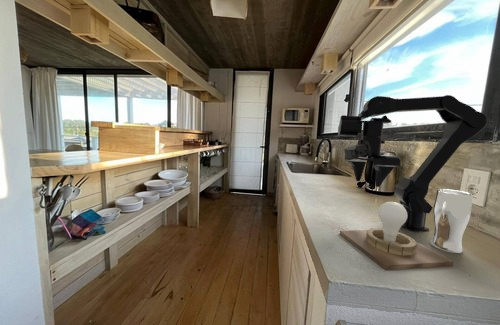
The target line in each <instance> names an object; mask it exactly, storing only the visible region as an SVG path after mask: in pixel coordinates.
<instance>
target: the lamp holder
mask: <svg viewBox="0 0 500 325" xmlns="http://www.w3.org/2000/svg"><path fill="white" fill-rule="evenodd" d="M339 235H340V236H342V237H343V238H344V239H345V240H347V241H348V242H349V243H350V244H352V245H353V246H354V247H355V248H356V249H358V250H359V251H361V252H362V253H363V254H364V255H366V256H367V257H368V258H369V259H371V260H372V261H373V262H374V263H376V264H377V265H379V267H381V268H382V269H384V270H385V271H389V270H391V271H393V270H405V269H406V270H407V269H421V268H422V269H423V268H437V267H438V268H440V267H452V266H454V261H453V260H451V259H450V258H448V257H445V256H443V255H442V254H440V253H438V252H436V251H434V250H433V249H430V248H428V247H427V246H425V245H423V244H420V243H419V242H417V241H416V240H415V239H414V238H412V237H411V236H409V235H407V234H405V233H403V232H399V231H398V235H397V236H396V241H395V243H389V242H386V241H384V232H383V227H380V228H379V227H373V228H372V227H371V228H369V229H363V230H362V229H357V230H339Z"/></svg>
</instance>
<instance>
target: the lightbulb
mask: <svg viewBox="0 0 500 325" xmlns="http://www.w3.org/2000/svg"><path fill="white" fill-rule="evenodd" d="M403 206H404V205H402V204H400V202H395V201H387V202H383V203H382V204H381V205H380V206H379V209H378V211H377V212H378V213H377V214H378V217H379V219H380V222H381V224H382V229H383V232H384V241H386V242H389V243H395V241H396V236H397V235H398V232H399V231H400V229H401V228H402V227H403V226H402V225H403V224H404V223H405V222H406V220H407V211H406V209H405V208H404V207H403Z"/></svg>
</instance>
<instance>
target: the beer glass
mask: <svg viewBox="0 0 500 325" xmlns="http://www.w3.org/2000/svg"><path fill="white" fill-rule="evenodd" d="M472 206H473V194H472V193H470V192H466V191H462V190H461V191H460V190H455V189H449V188H447V189H445V188H438V189H436V194H435V198H434V203H433V221H434V222H433V223H434V233H433V236H432V239H431V241H430V245H431V246H432V247H434V248H436V249H438V250H441V251H443V252H447V253H451V254H462V253H463V244H462V243H463V242H462V241H463V240H462V239H463V236H464V233H465V230H466V228H467V226H468V223H469V221H470V218H471V214H472Z"/></svg>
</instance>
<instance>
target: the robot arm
mask: <svg viewBox="0 0 500 325" xmlns="http://www.w3.org/2000/svg"><path fill="white" fill-rule="evenodd" d="M420 111H421V112H424V111H436V113H438V115H439V116H440V118H441V120H442V121H443V122H444V123H446V124H445V127H444V129H443V135H442V138H441V139H440V140H439V142H438V143H437V144H436V145H435V147H434V148H433V149H432V150H431V152H430V153H429V154H428V155H427V157H426V158H425V159H424V161H423V162H422V163H421V164H420V166H419V167H418V169H416V171H415V172H414V174H412V175H411V176H409V177H406V176H402V177H401V178H400V180H399V182H398V183H396V184H395V185H394V187H395V189H394V195H395V197H396V199H398V201H399V204H401V205H402V206H403V207H404V208H405V209H406V211H407V220H406V222H405V223H404V224H403V225H402V226H401V227H403V228H404V229H407V230H409V231H411V232H417V231H418V232H422V231H423V232H424V231H430V228H428V227H426V226H425V225H426V219H427V214H430V213H431V212H432V210H433V209H434V206H432V205H431V204H430V203H429V202H428V201H427V200H426V196H427V195H428V193H429V187H430V183H432V181H433V179H434V178H435V177H436V176H437V174H438V173H439V172H440V171H441V169H442V168H444V166H445V164H446V163H447V162H448V161H449V160H450V158H452V156H453V155H454V154H455V152H456V151H458V149H459V148H460V146H461V145H462V144H464V143H465V142H466V141H468V140H470V139H472V138H473V137H475V136H476V135H478V134H479V132H481V131H482V130H483V129H484V128H485V127H486V126H487V125H488V120H487V116H486V115H485V114H484V113H483V112H480V111H477V110H476V109H475V108H474V107H472V106H471V105H468V104H467V103H464V102H462V101H460V100H459V99H457V98H456V97H455V96H454V95H449V94H445V95H443V96H441V95H440V96H428V97H425V96H424V97H411V98H396V97H392V96H383V95H381V96H380V95H376V96H374V97H372V98H370V99H368V100H367V101H366V102H365V103H364V105H363V107H362V111H361V112H360V113H359V114H357V115H344V114H343V115H341V116H340V117H339V118H340V120H339V124H338V127H337V135H338V137H358V135H359V134H361V133H362V134H361V139H358V141H357V144H354V145H352V146H348V147H345V148H343V152H344V160H346V162H347V163H349V164H350V165H351V166H352V169H353V172H354V178H355V180H356V181H357V182H360V181H361V179H362V177H363V173H364V170H365V166H366V164H367V161H368V162H373V163H374V164H372V167H373V169H374V170H375V178H374V181H375V187H376V188H379V187H381V185H382V184H383V183H384V182H385V179H386V178H387V177H388V175H389V174H390V173H391V172H392V171H393V170H394V169H396V168H397V166H401V158H400V156H398V155H387V154H386V155H385V154H384V153H383V152H381V150H382V145H385V143H386V140H383V130H384V124H391V123H392V120H391V119H389V117H387V115H388V114H393V113H401V112H402V113H403V112H404V113H405V112H420ZM379 116H382V117H379ZM369 118H370V119H369ZM365 119H369V120H365Z"/></svg>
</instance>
